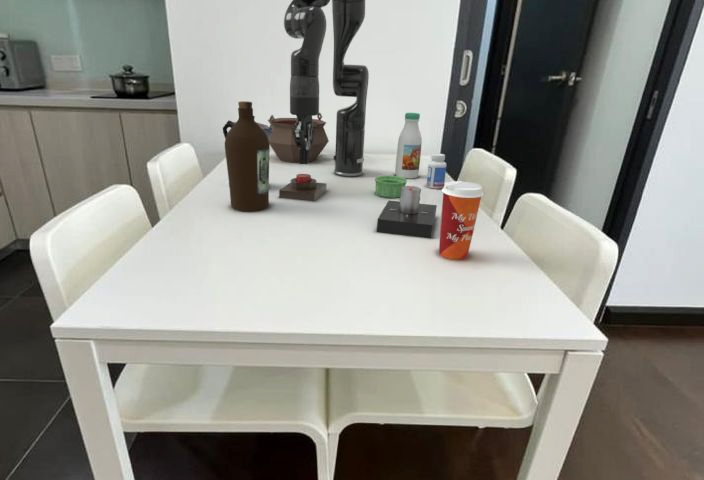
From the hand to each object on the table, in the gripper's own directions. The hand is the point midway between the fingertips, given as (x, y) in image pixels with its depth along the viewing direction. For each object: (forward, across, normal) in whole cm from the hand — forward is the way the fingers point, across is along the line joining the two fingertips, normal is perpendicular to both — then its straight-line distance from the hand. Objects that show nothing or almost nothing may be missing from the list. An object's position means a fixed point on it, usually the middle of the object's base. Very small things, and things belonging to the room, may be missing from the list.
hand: (304, 163), depth 126 cm
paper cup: (+9, -32, -42) cm, 53 cm away
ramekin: (+9, +9, -23) cm, 26 cm away
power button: (+5, 0, 0) cm, 5 cm away
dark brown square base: (+9, 0, 0) cm, 9 cm away
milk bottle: (+9, +34, -25) cm, 43 cm away
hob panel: (+9, -16, -31) cm, 36 cm away
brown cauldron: (+8, +48, +18) cm, 51 cm away
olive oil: (+9, -16, +9) cm, 20 cm away
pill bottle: (+9, +23, -35) cm, 43 cm away
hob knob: (+6, -16, -31) cm, 35 cm away
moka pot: (+9, +2, +17) cm, 20 cm away
